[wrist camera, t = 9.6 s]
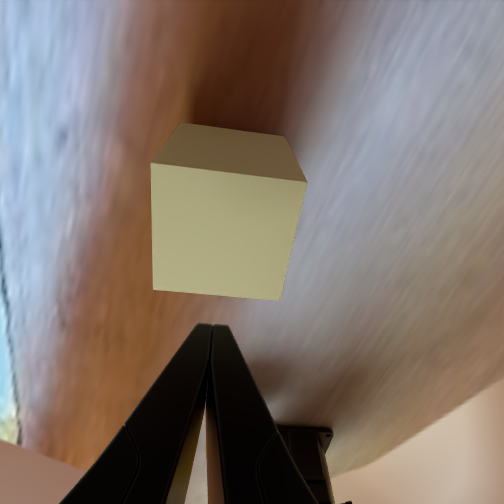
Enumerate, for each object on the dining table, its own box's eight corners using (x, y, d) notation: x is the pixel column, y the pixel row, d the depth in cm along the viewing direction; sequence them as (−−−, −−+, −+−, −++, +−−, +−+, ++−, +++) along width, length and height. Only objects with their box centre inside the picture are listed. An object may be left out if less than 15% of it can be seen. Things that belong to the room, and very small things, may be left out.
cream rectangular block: (268, 227, 20) (279, 300, 14) (178, 217, 19) (153, 289, 14) (285, 136, 17) (307, 182, 11) (181, 122, 16) (150, 162, 11)
